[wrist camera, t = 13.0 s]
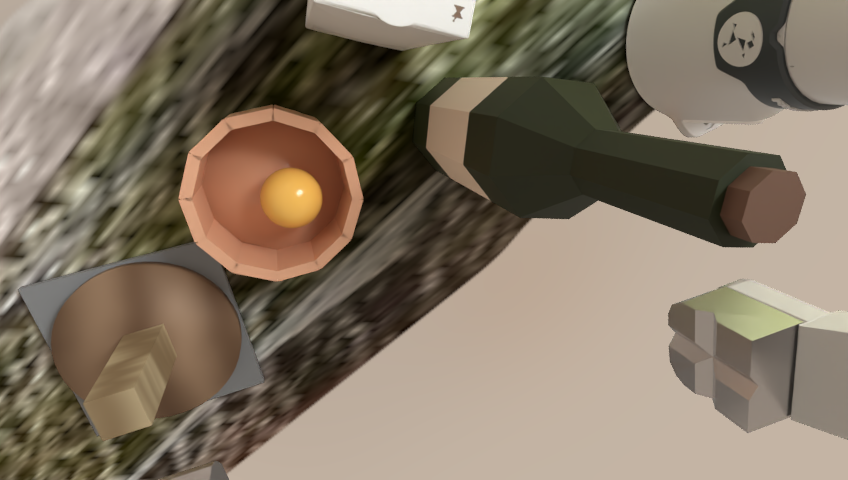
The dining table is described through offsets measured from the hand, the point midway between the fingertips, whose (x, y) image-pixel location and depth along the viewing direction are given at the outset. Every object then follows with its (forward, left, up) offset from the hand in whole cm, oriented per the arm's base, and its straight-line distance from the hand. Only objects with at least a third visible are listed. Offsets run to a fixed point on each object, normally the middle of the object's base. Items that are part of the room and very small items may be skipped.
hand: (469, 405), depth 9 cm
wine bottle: (-12, +1, -35) cm, 37 cm away
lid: (+17, +12, -34) cm, 40 cm away
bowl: (+4, +2, -35) cm, 35 cm away
